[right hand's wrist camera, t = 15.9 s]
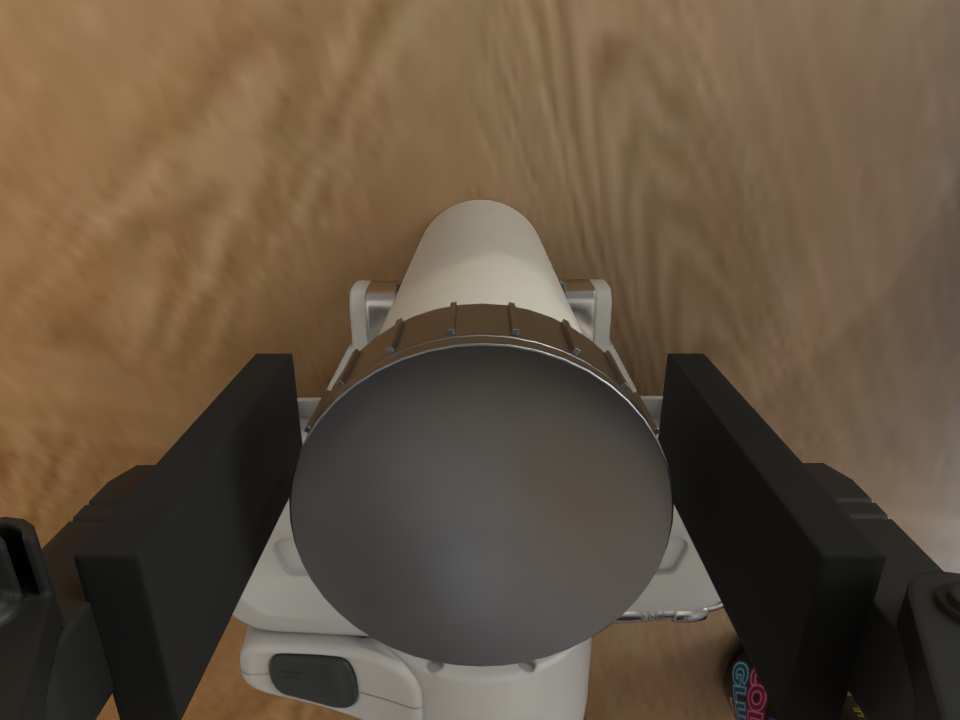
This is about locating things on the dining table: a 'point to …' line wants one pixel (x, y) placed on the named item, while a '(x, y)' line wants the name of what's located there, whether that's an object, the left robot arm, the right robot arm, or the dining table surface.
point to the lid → (481, 488)
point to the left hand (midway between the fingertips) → (479, 283)
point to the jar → (480, 265)
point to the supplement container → (760, 692)
